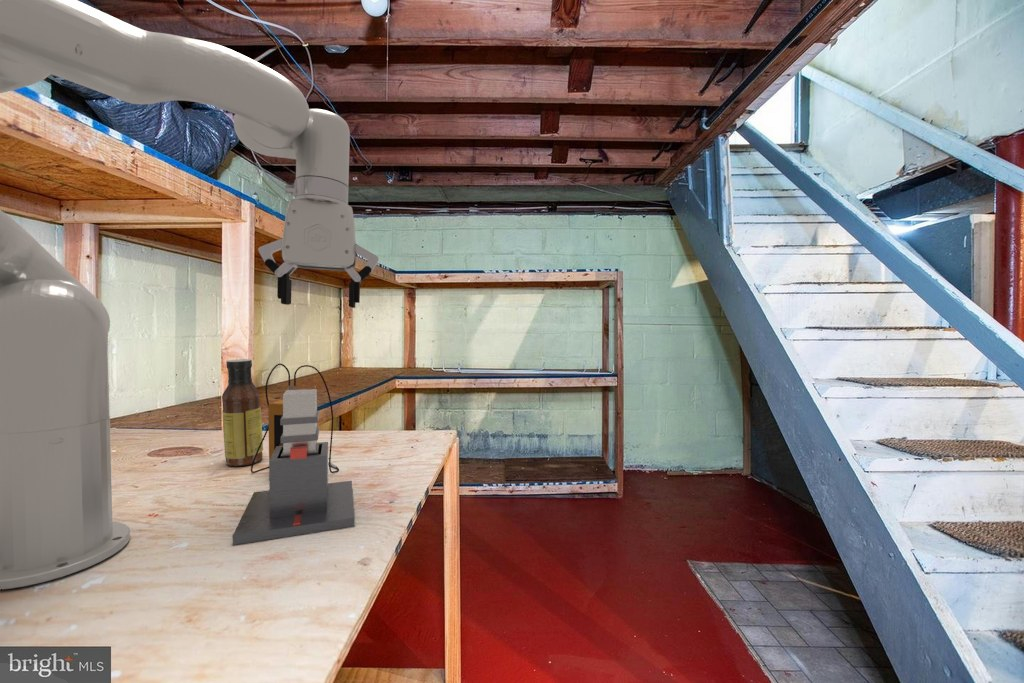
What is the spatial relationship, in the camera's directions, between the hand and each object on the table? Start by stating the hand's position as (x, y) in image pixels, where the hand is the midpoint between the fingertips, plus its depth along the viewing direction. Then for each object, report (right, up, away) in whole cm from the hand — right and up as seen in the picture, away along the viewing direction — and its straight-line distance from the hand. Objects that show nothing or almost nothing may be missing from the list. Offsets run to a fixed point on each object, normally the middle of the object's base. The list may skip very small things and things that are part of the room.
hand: (319, 305), depth 66 cm
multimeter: (-9, -30, +12) cm, 33 cm away
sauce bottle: (-21, -29, +15) cm, 39 cm away
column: (0, -29, -6) cm, 29 cm away
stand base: (0, -30, -6) cm, 31 cm away
